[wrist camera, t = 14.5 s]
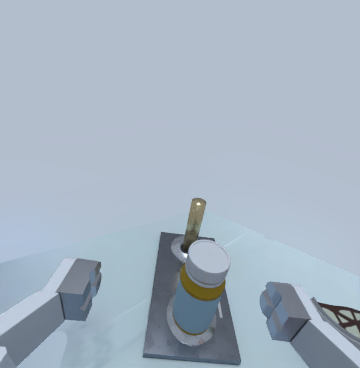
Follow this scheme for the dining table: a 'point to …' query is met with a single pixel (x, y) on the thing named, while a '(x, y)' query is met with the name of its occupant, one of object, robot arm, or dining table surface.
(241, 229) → the dining table surface
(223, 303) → the gauge plate
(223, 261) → the bottle
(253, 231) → the dining table surface
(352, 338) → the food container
